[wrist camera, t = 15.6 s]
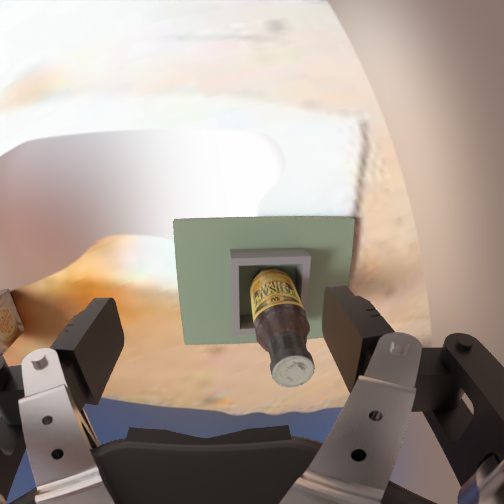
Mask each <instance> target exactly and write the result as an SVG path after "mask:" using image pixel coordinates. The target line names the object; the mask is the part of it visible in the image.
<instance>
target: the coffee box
mask: <svg viewBox="0 0 504 504" xmlns="http://www.w3.org/2000/svg"><path fill="white" fill-rule="evenodd" d="M24 330H25V329H24V326H23V324H22V322H21V319H20V317H19V315H18V312H17V310H16V307H15V304H14V302H13V299H12V297H11V294H10V291H9V289H4V290H0V355H3V354H4V353H5V352H6V350H7V349H8V348H9V347H10V346H11V345H12V343H13V342H14V341H15V340H16V339H17V338H18V337H19V336H20V334H21V333H22V332H23V331H24Z"/></svg>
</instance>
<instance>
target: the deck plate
mask: <svg viewBox="0 0 504 504" xmlns="http://www.w3.org/2000/svg"><path fill="white" fill-rule="evenodd" d="M354 224H355V218H353V217H319V216H301V217H225V218H190V219H174V221H173V228H174V243H175V256H176V269H177V280H178V290H179V300H180V309H181V318H182V326H183V335H184V342H185V345H202V344H240V343H258V342H257V339H256V332H255V327H254V322H253V314H252V305H251V295H250V286H251V283H252V280H253V277H254V276H255V275H256V274H257V273H258V272H259V271H261V270H262V269H264V268H269V267H276V268H280V269H282V270H283V271H285V272H286V273H287V274H288V275H289V276H290V278H291V279H292V281H293V284H294V286H295V288H296V291H297V293H298V296H299V298H300V300H301V303H302V305H303V307H304V310H305V313H306V318H307V320H308V323H309V325H310V332H309V334H308V336H307V339H314V338H324V337H323V332H322V315H323V302H324V290H325V287H326V286H336V285H346V286H347V287H348V284H349V276H350V267H351V258H352V247H353V236H354Z"/></svg>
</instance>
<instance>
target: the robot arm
mask: <svg viewBox="0 0 504 504" xmlns="http://www.w3.org/2000/svg"><path fill="white" fill-rule="evenodd" d="M322 332H323V337H324V339H325V341H326V343H327V345H328V348H329V350H330V352H331V354H332V356H333V358H334V360H335V362H336V364H337V367H338V369H339V371H340V373H341V375H342V377H343V379H344V382H345V384H346V386H347V388H348V390H349V392H350V396H349V398H348V400H347V401H346V403H345V405H344V407H343V409H342V411H341V413H340V415H339V417H338V418H337V420H336V422H335V424H334V426H333V428H332V429H331V431H330V433H329V434H328V436H327V438H326V439H325V441H324V443H321V442H319V441H316V440H312V439H308V438H303V437H297V436H291V435H290V430H289V426H288V425H285V426H276V427H266V428H253V429H246V430H242V431H238V432H234V433H230V434H225V435H221V436H217V437H212V438H199V437H194V436H189V435H185V434H181V433H176V432H172V431H168V430H158V429H143V428H131V427H130V428H129V430H128V434H127V437H126V438H125V439H119V440H114V441H111V442H107V443H105V444H102V445H100V443H99V441H98V439H97V437H96V435H95V433H94V430H93V428H92V427H91V424H90V422H89V420H88V417H87V415H86V413H85V411H84V409H83V406H84V405H85V404H93V405H98V403H99V401H100V398H101V396H102V393H103V391H104V389H105V387H106V384H107V382H108V380H109V377H110V375H111V373H112V371H113V369H114V366H115V364H116V362H117V360H118V358H119V355H120V353H121V351H122V349H123V346H124V333H123V329H122V326H121V322H120V318H119V314H118V310H117V306H116V303H115V300H114V299H113V298H94V299H93V300H92V301H91V303H90V304H89V305H88V306H87V308H86V309H85V310H83V311H82V312H80V313H79V314H77V315H76V316H74V318H73V319H72V320H71V321H70V323H69V325H67V326H66V328H65V329H64V331H62V333H61V334H60V335H59V337H58V338H57V339H56V340H55V342H54V343H53V344H52V346H51V347H50V348H42V349H38V350H35V351H33V352H31V353H29V354H28V355H27V356H26V357H25V358H24V359H23V361H22V365H19V366H10V367H8V365H7V363H6V361H5V359H4V357H3V356H2V355H0V415H1V418H0V504H6V500H7V497H8V494H9V491H10V489H11V486H12V483H13V480H14V477H15V475H16V472H17V470H18V467H19V464H20V462H21V459H22V457H23V454H24V452H25V450H26V448H27V452H28V457H29V461H30V465H31V469H32V472H33V476H34V479H35V483H36V486H37V487H36V488H34V489H32V490H31V491H29V492H28V493H26V494H24V495H23V496H21V497H19V498H18V499H16V500H14V501H13V502H11V503H9V504H436V503H434V502H432V501H430V500H427V499H426V498H423V497H421V496H419V495H417V494H415V493H413V492H411V491H409V490H407V489H405V488H403V487H401V486H399V485H397V484H395V483H393V482H391V481H390V480H389V479H390V477H391V474H392V471H393V468H394V466H395V463H396V460H397V457H398V454H399V451H400V448H401V445H402V442H403V439H404V435H405V432H406V428H407V425H408V421H409V418H410V414H411V412H418V411H422V412H423V414H424V416H425V417H426V419H427V421H428V423H429V425H430V427H431V428H432V430H433V432H434V434H435V436H436V438H437V439H438V442H439V443H440V445H441V447H442V449H443V451H444V453H445V455H446V457H447V459H448V461H449V463H450V465H451V467H452V469H453V471H454V473H455V475H456V477H457V479H458V481H459V483H460V486H461V488H460V490H459V492H458V497H457V503H458V504H504V367H503V366H502V365H501V364H500V363H499V362H498V361H497V360H496V358H495V357H494V356H493V355H492V354H491V353H490V352H489V351H488V350H487V349H486V348H485V347H484V346H483V345H482V344H481V343H480V342H479V341H478V340H477V339H476V338H474V337H472V336H470V335H468V334H463V333H454V334H450V335H449V336H447V337H446V339H445V341H444V344H443V347H442V348H422V345H421V343H420V342H419V340H417V339H416V338H415V337H413V336H411V335H409V334H405V333H400V332H395V331H394V330H393V329H392V328H391V326H390V325H389V324H388V323H387V322H386V320H385V319H384V318H383V317H382V316H380V313H379V312H378V311H377V310H376V309H375V307H374V306H373V305H372V304H371V303H370V301H368V300H366V299H364V298H362V297H361V296H354V294H353V293H352V292H351V291H350V289H349V288H348V287H347V286H346V285H336V286H326V287H325V290H324V302H323V315H322ZM464 392H465V393H466V394H467V396H468V398H469V399H470V400H471V402H472V404H473V407H474V414H472V413H471V412H470V410H469V409H468V407H467V406H466V404H465V403H464V401H463V400H462V396H463V394H464Z"/></svg>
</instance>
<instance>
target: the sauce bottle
mask: <svg viewBox="0 0 504 504" xmlns="http://www.w3.org/2000/svg"><path fill="white" fill-rule="evenodd" d="M250 295H251V305H252V314H253V322H254V327H255V332H256V339H257V342H258V343H259V344H260V345H261V346H262V347H263V349H265V350H266V351H267V352H269V354H270V358H271V364H270V369H271V374H272V377H273V379H274V381H275V382H276V383H277V384H279V385H281V386H285V387H295V386H299V385H302V384H304V383H305V382H307V381H308V380H309V379H310V377H311V376H312V375H313V373H314V369H315V368H314V363H313V359H312V356H311V354H310V353H309V352H308V351H307V348H306V342H307V336H308V334H309V332H310V325H309V323H308V320H307V318H306V313H305V310H304V307H303V305H302V303H301V300H300V298H299V296H298V293H297V291H296V288H295V286H294V284H293V281H292V279H291V278H290V276H289V275H288V274H287V273H286V272H285V271H283V270H282V269H280V268H276V267H269V268H264V269H262V270H261V271H259V272H258V273H257V274H256V275H255V276H254V277H253V280H252V283H251V286H250Z"/></svg>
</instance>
